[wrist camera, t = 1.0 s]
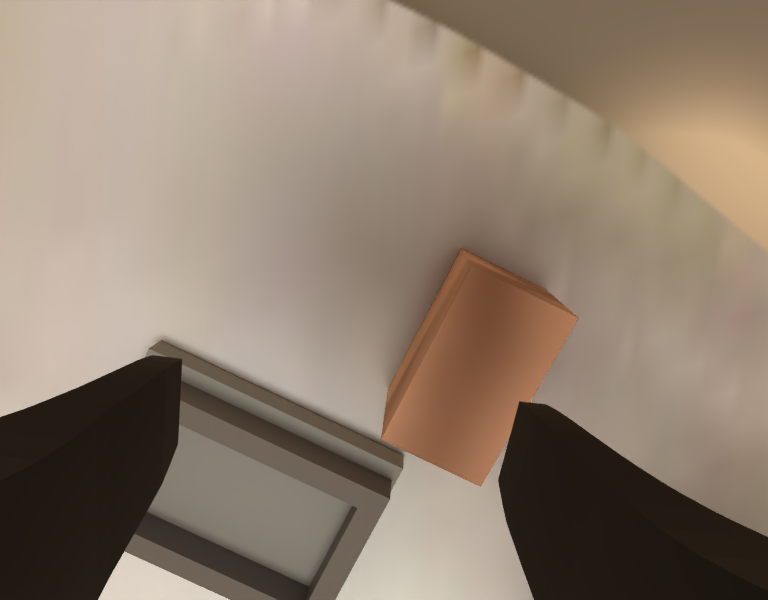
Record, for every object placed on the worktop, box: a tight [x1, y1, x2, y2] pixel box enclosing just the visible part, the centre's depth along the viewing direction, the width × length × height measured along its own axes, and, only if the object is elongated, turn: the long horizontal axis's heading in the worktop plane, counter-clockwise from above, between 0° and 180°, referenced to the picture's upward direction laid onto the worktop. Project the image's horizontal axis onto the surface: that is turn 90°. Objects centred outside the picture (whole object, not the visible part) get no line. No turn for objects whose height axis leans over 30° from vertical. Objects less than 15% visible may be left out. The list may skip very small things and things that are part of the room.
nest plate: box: [125, 341, 404, 600], centre depth 25 cm, size 12×9×3 cm
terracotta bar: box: [381, 248, 579, 487], centre depth 22 cm, size 4×7×5 cm, turn 154°
